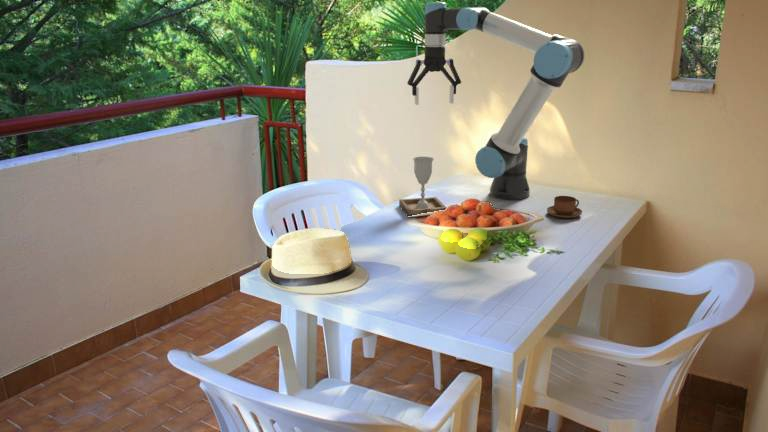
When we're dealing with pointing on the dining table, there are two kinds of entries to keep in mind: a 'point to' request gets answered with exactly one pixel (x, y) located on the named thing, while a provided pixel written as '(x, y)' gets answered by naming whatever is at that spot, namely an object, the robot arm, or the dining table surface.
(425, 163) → the chalice
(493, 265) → the dining table surface
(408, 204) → the tray
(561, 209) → the cup and saucer
